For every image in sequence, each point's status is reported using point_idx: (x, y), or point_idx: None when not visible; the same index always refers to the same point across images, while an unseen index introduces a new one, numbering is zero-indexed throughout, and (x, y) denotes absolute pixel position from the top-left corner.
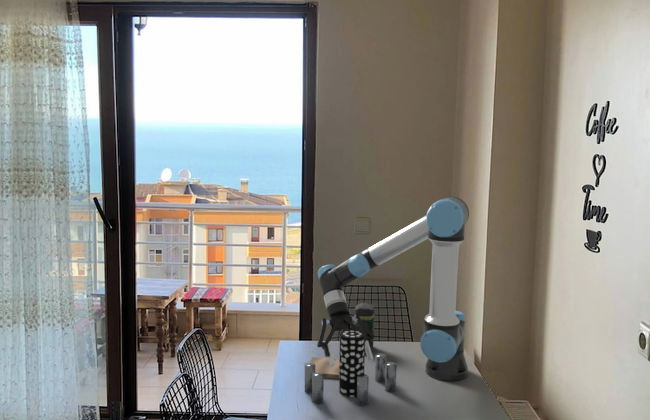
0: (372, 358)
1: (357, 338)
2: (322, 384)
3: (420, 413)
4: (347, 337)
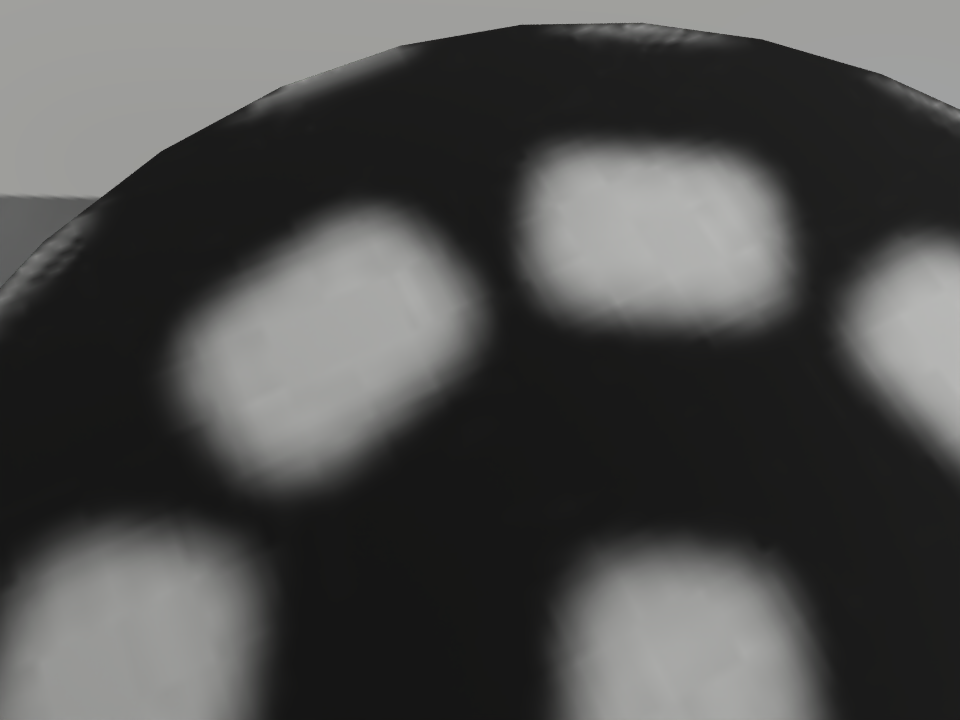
0: None
1: (416, 60)
2: None
3: (29, 208)
4: (907, 116)
